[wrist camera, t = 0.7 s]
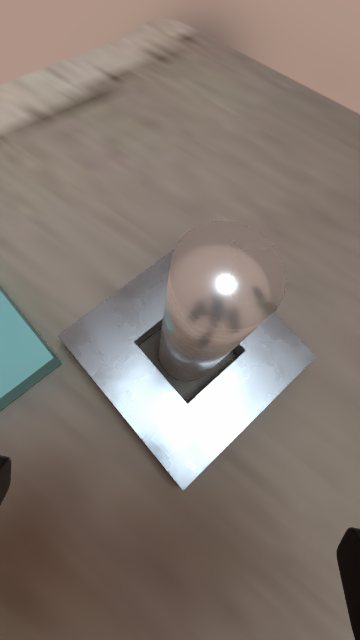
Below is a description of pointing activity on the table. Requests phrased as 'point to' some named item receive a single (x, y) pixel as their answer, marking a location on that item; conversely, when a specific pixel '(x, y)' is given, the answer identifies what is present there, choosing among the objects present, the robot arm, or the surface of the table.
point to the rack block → (20, 353)
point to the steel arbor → (217, 295)
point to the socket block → (157, 393)
